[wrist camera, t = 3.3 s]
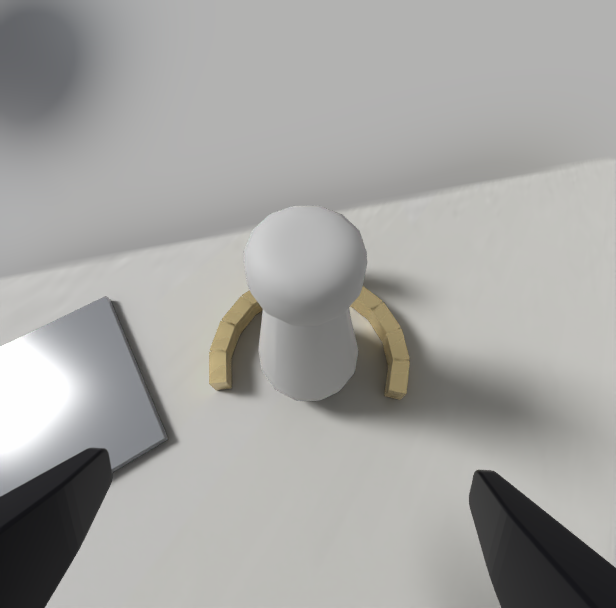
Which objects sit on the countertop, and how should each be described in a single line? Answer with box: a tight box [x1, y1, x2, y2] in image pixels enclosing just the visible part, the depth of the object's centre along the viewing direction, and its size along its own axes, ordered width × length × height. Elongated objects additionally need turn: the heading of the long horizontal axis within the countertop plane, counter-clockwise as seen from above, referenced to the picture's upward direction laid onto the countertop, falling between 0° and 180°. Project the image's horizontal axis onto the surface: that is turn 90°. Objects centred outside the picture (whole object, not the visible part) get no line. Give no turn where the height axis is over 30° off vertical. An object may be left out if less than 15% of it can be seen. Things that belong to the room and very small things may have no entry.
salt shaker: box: [244, 206, 367, 401], centre depth 17 cm, size 6×6×13 cm
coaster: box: [0, 296, 168, 496], centre depth 22 cm, size 11×11×1 cm
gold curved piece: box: [209, 286, 410, 400], centre depth 22 cm, size 10×12×6 cm
